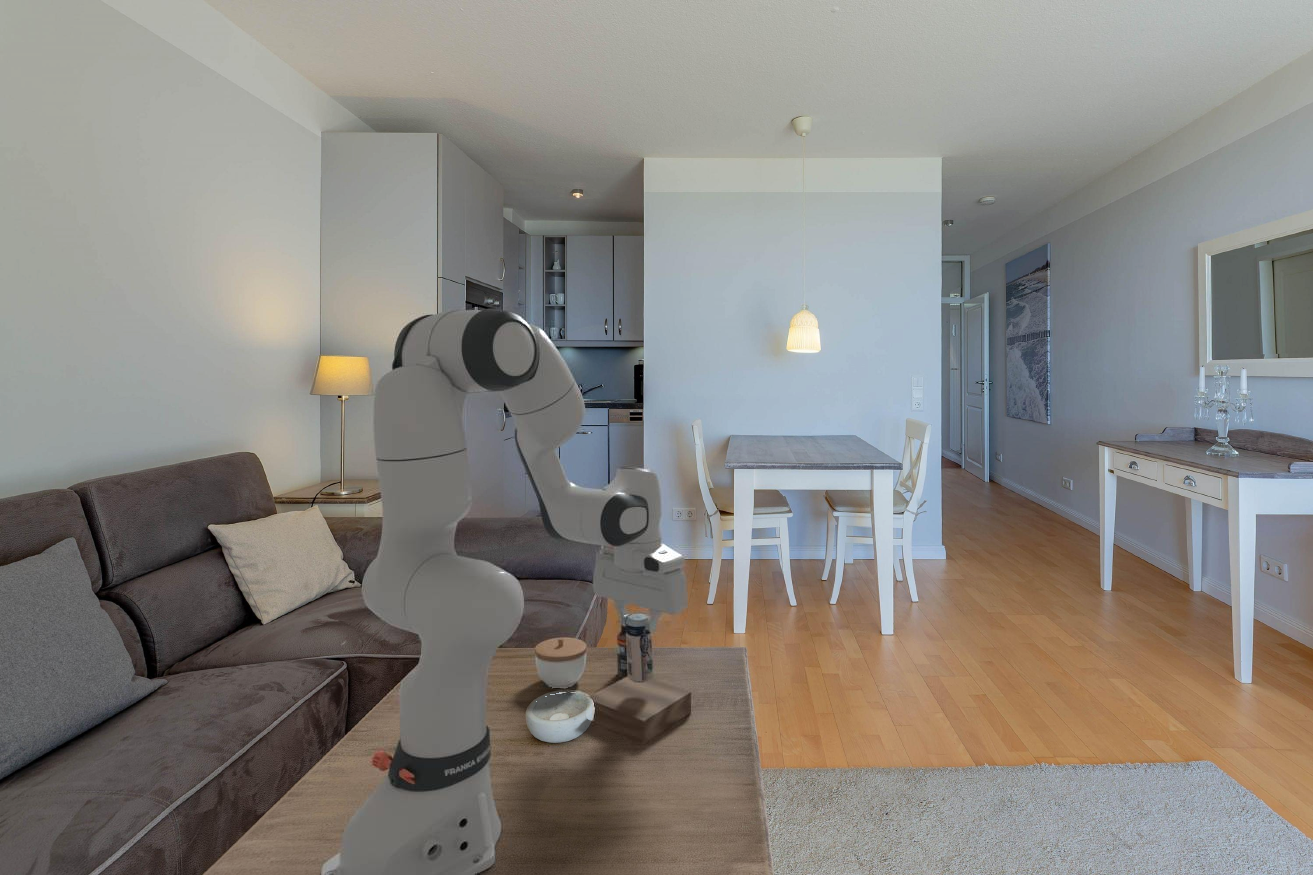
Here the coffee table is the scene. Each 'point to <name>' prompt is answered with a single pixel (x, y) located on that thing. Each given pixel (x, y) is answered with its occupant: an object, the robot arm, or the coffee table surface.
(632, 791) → the coffee table surface
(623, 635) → the supplement bottle
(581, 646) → the lidded jar
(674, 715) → the walnut block
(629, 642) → the beer can
